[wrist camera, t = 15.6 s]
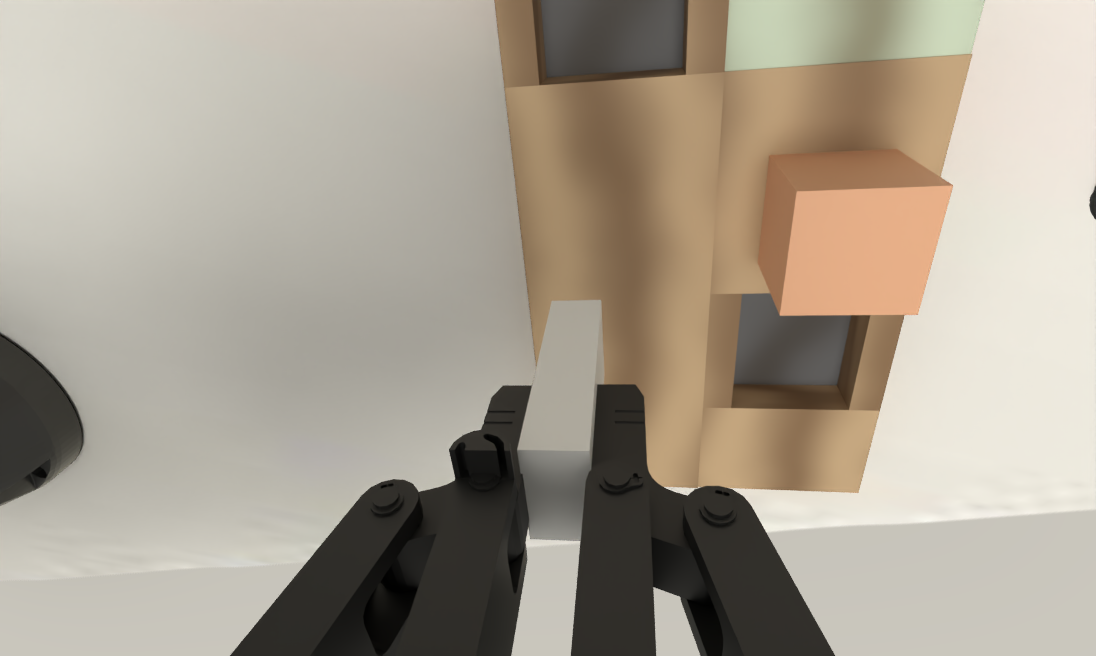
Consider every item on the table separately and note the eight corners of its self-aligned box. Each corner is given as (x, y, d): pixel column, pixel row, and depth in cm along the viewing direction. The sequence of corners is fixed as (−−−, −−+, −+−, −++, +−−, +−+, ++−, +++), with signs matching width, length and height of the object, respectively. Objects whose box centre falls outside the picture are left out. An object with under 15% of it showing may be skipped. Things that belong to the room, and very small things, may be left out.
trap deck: (554, 454, 38) (541, 524, 33) (491, -148, 22) (450, -184, 18) (845, 463, 35) (879, 541, 30) (1006, -219, 20) (1129, -286, 15)
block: (757, 263, 27) (779, 315, 23) (769, 154, 25) (796, 191, 20) (872, 260, 26) (917, 314, 22) (896, 148, 24) (953, 185, 20)
